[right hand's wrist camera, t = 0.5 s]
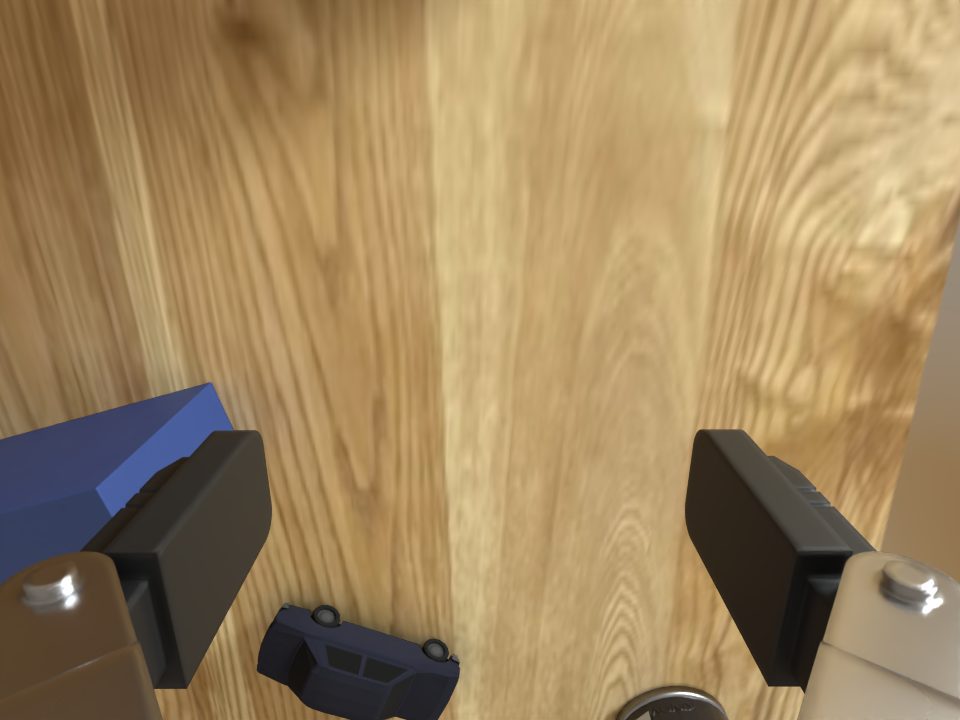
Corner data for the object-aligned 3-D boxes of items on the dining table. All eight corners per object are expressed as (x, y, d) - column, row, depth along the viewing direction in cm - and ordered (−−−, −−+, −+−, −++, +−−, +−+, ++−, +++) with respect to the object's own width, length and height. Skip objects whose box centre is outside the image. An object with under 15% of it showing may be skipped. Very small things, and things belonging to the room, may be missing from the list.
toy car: (437, 696, 49) (433, 755, 45) (262, 644, 47) (238, 700, 43) (463, 645, 47) (462, 700, 43) (283, 588, 46) (260, 640, 41)
